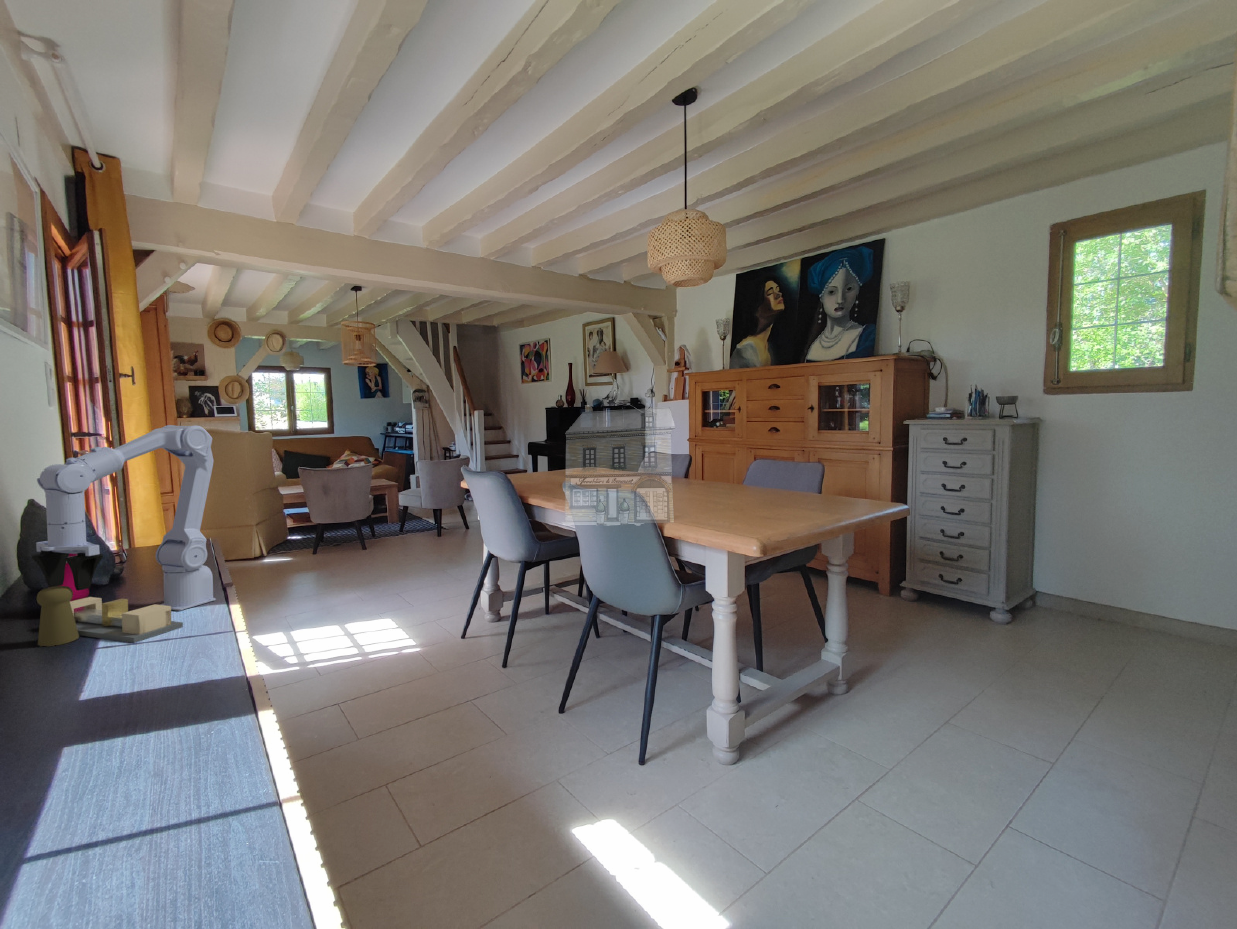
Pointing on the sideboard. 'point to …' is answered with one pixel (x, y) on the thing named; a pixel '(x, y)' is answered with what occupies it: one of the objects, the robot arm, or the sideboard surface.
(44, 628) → the cork
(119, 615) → the rod
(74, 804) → the sideboard surface
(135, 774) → the sideboard surface
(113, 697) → the sideboard surface
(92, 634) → the jig board
